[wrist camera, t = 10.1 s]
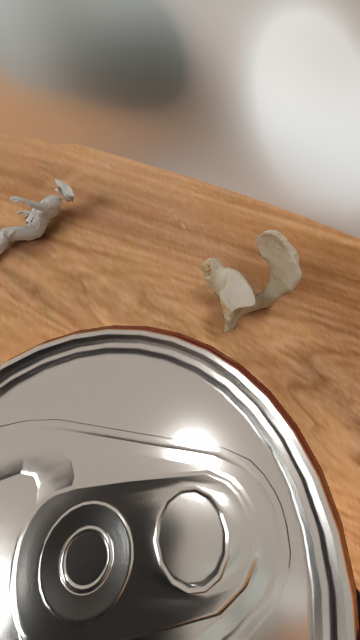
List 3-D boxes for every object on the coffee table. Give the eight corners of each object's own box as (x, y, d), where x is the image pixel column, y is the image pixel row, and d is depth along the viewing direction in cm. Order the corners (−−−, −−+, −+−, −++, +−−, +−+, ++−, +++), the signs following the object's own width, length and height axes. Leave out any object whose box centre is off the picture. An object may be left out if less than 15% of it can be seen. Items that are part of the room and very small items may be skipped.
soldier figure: (-18, 251, 31) (38, 173, 32) (23, 274, 33) (74, 201, 34) (-35, 248, 24) (37, 149, 25) (17, 277, 27) (81, 185, 28)
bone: (176, 322, 24) (212, 213, 18) (193, 295, 29) (224, 204, 24) (263, 358, 23) (328, 254, 18) (264, 323, 28) (314, 236, 23)
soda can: (81, 576, 12) (-648, 1516, 1) (94, 414, 15) (-87, 322, 5) (234, 560, 12) (590, 1208, 2) (213, 404, 16) (291, 300, 5)
